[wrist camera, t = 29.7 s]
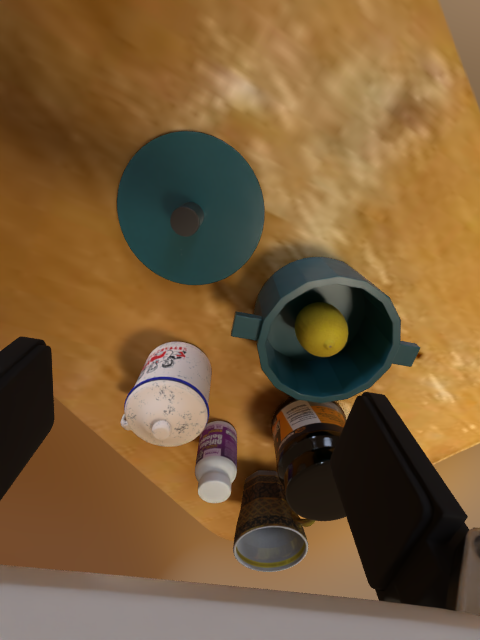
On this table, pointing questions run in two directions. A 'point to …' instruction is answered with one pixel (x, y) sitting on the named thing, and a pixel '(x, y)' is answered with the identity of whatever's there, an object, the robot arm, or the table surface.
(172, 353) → the teacup with lid
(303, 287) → the cooker
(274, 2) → the table surface
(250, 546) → the ceramic cup
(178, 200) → the cooker lid
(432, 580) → the robot arm
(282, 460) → the supplement container
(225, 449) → the pill bottle
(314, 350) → the lemon
